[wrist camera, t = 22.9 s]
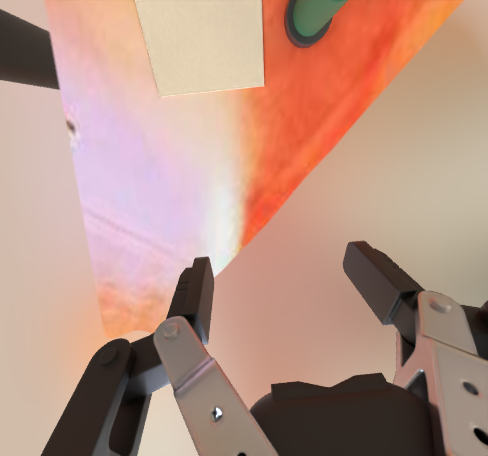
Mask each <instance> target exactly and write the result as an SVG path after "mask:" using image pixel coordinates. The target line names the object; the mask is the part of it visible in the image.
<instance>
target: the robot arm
mask: <svg viewBox="0 0 488 456" xmlns="http://www.w3.org/2000/svg"><path fill="white" fill-rule="evenodd" d="M343 268H344V271H345V273H346V275H347V276H348V277H349V279H350V280H351V282H352V283H353V284H354V286H355V287H356V288H357V290H358V291H359V292H360V294H361V295H362V297H363V298H364V299H365V301H366V302H367V304H368V305H369V307H370V308H371V309H372V311H373V312H374V313H375V315H376V316H377V318H378V319H379V320H380V321H381V323H382V324H383V325H389V324H390V325H391V324H394V325H395V327H396V328H397V329H398V330H397V332H396V374H395V377H394V380H393V384H391V383H388V382H387V381H386V379H385V378H384V376H383V374H382V373H375V374H364V375H356V376H353V377H351V378H349V379H347V380H345V381H343V382H341V383H339V384H337V385H335V386H333V387H323V386H318V385H314V384H309V383H304V382H299V381H298V382H287V383H278V384H271V393H269V394H267V395H265V396H264V397H262V398H261V399H260V400H258V401H257V402H256V403H255V404H254V405H253V407H252V408H251V409H250V410H248V408H247V407H246V405H245V404H244V402H243V401H242V399H241V398H240V396H239V394H238V393H237V391H236V390H235V388H234V387H233V386H232V384H231V382H230V381H229V379H228V378H227V376H226V375H225V373H224V372H223V370H222V369H221V367H220V366H219V364H218V363H217V361H216V360H215V359H214V358H212V357H211V356H210V355H209V353H208V352H207V350H206V349H205V347H204V344H208V339H209V330H210V320H211V310H212V300H213V291H214V277H213V272H212V268H211V264H210V259H209V257H199V258H195V259H194V263H193V267H191V268H186V269H185V270H184V271H183V272H182V274H181V275H180V278H179V281H178V285H177V287H176V291H175V293H174V296H173V299H172V302H171V305H170V309H169V312H168V315H167V318H166V320H165V321H163V322H162V323H161V324H160V325H159V326H158V328H157V329H156V331H155V332H154V333H153V334H151V335H149V336H147V337H145V338H142V339H140V340H137V341H135V342H132V343H129V341H128V340H126V339H122V338H121V339H115V340H112V341H110V342H108V343H107V344H106V345H104V346H103V347H101V348H100V349H99V350H98V351H97V352H96V353H95V355H94V356H93V357H92V359H91V361H90V362H89V364H88V366H87V368H86V370H85V372H84V374H83V376H82V378H81V380H80V381H79V383H78V385H77V387H76V389H75V391H74V393H73V395H72V397H71V399H70V401H69V402H68V404H67V406H66V408H65V410H64V412H63V414H62V416H61V418H60V420H59V422H58V423H57V426H56V427H55V429H54V431H53V433H52V435H51V437H50V439H49V441H48V443H47V444H46V446H45V448H44V450H43V453H42V454H41V456H137V454H138V450H139V445H140V442H141V437H142V433H143V429H144V425H145V421H146V417H147V412H148V408H149V404H150V400H151V396H152V392H154V391H156V390H158V389H160V388H162V387H164V386H166V385H168V384H170V383H171V385H172V387H173V390H174V396H175V398H176V402H177V404H178V406H179V409H180V411H181V414H182V416H183V419H184V421H185V423H186V426H187V428H188V431H189V433H190V435H191V438H192V440H193V443H194V445H195V447H196V450H197V452H198V455H199V456H488V301H487V302H485V304H484V305H483V306H482V307H481V308H477V307H472V306H465V305H459V304H458V303H457V302H456V301H454V300H453V299H451V298H450V297H447V296H446V295H443V294H441V293H438V292H434V291H426V290H424V289H423V288H422V287H421V286H420V285H419V284H418V283H417V282H416V281H415V280H413V279H412V278H411V277H410V276H409V275H408V274H407V273H406V272H404V271H403V270H402V269H401V268H399V266H398V265H397V264H396V263H395V262H393V261H392V260H391V259H390V258H389V257H388V256H387V255H386V254H384V253H382V252H381V251H379V250H377V249H373V248H372V247H371V246H370V245H369V244H368V243H367V242H365V241H355V242H349V243H348V245H347V249H346V253H345V257H344V261H343Z"/></svg>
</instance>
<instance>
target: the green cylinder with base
mask: <svg viewBox="0 0 488 456" xmlns="http://www.w3.org/2000/svg"><path fill="white" fill-rule="evenodd" d="M347 1H348V0H289V2H288V4H287V7H286V11H285V18H284V24H285V30H286V34H287V36H288V38H289V40H290V41H291V42H292V44H294V45H295V46H297V47H299V48H308V47H310V46H312V45H314V44H315V43H317V42H318V41H319V40H320V39H321V38H322V37H323V36H324V34H325V33H326V32H327V30H328V28H329V26H330V24H331V21H332V17H333V16H334V15H335V14H336V13H337V12H338V11H339V9H340V8H341V7H342V6H343V5H344V4H345V3H346V2H347Z"/></svg>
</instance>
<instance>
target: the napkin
mask: <svg viewBox="0 0 488 456" xmlns="http://www.w3.org/2000/svg"><path fill="white" fill-rule="evenodd" d="M135 3H136V7H137V11H138V15H139V19H140V23H141V27H142V30H143V34H144V38H145V42H146V46H147V50H148V54H149V57H150V61H151V65H152V69H153V73H154V77H155V81H156V84H157V88H158V92H159V96H160V97H166V96H176V95H185V94H195V93H204V92H214V91H223V90H232V89H242V88H251V87H261V86H264V62H263V27H262V0H135Z"/></svg>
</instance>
